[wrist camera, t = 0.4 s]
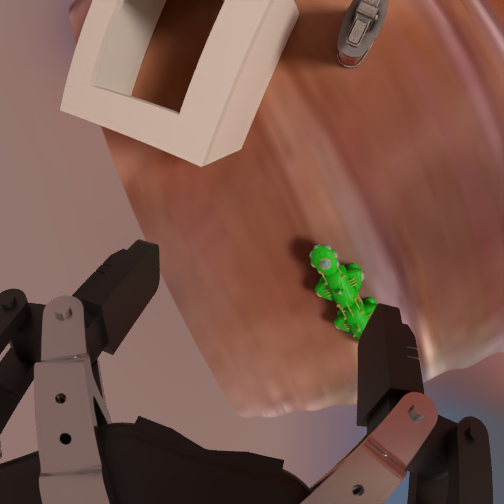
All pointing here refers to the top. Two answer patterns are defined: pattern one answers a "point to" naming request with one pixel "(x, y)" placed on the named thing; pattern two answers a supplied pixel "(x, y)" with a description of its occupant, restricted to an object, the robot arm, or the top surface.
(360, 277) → the green elongated figure
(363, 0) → the lighter
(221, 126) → the slot box
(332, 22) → the top surface
